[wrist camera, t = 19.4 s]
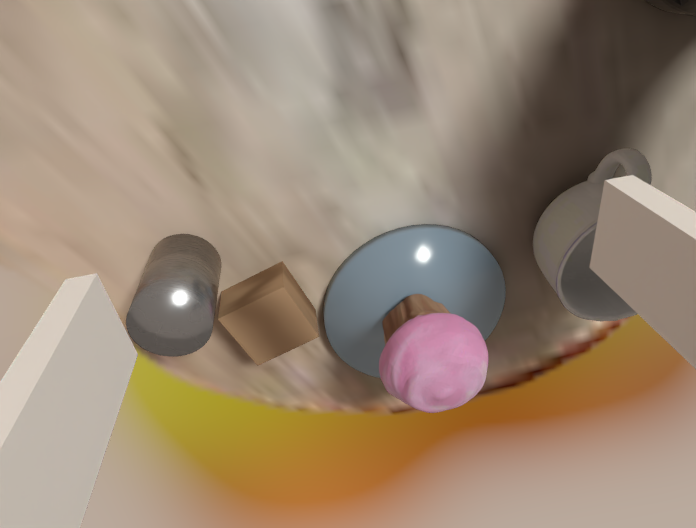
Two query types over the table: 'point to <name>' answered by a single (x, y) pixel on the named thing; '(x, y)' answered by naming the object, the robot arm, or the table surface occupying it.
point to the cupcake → (431, 356)
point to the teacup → (583, 241)
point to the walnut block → (268, 314)
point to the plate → (409, 287)
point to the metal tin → (176, 297)
